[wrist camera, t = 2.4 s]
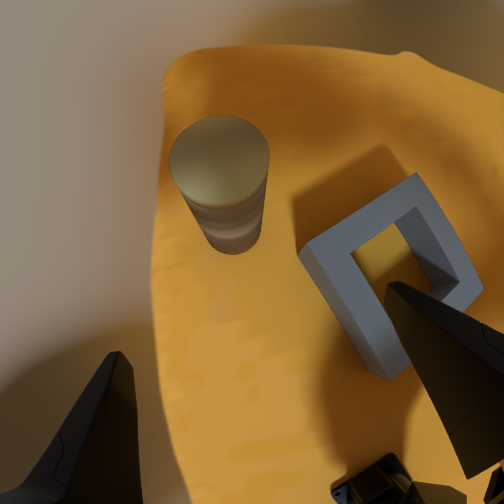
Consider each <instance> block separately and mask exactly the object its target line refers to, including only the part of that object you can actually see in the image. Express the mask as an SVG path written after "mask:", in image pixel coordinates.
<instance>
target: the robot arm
mask: <svg viewBox="0 0 504 504" xmlns="http://www.w3.org/2000/svg"><path fill="white" fill-rule="evenodd" d="M384 305H385V308H386V311H387V313H388V315H389V317H390V319H391V322H392V324H393V326H394V329H395V331H396V333H397V336H398V338H399V340H400V342H401V344H402V346H403V348H404V350H405V352H406V353H407V355H408V357H409V359H410V361H411V362H412V364H413V366H414V368H415V370H416V372H417V374H418V375H419V377H420V379H421V381H422V383H423V385H424V387H425V389H426V391H427V393H428V395H429V397H430V399H431V401H432V403H433V405H434V407H435V409H436V411H437V413H438V415H439V417H440V419H441V421H442V423H443V425H444V427H445V430H446V432H447V434H448V435H449V439H450V441H451V443H452V445H453V448H454V450H455V452H456V454H457V457H458V459H459V462H460V464H461V466H462V469H463V471H464V474H465V476H466V478H467V480H468V479H470V478H472V477H474V476H476V475H478V474H479V473H481V472H483V471H485V470H486V469H488V468H490V467H492V466H493V465H495V464H496V463H498V462H499V463H500V466H499V467H498V468H497V469H496V470H494V471H493V472H492V475H491V479H490V482H489V485H488V488H487V491H486V494H485V497H484V503H485V504H504V334H503V333H500V332H498V331H497V330H495V329H493V328H491V327H489V326H487V325H485V324H483V323H480V322H479V321H477V320H475V319H474V318H472V317H470V316H468V315H466V314H464V313H462V312H460V311H458V310H456V309H454V308H453V307H451V306H449V305H447V304H445V303H443V302H441V301H439V300H437V299H435V298H433V297H431V296H429V295H427V294H425V293H423V292H421V291H419V290H417V289H415V288H413V287H411V286H409V285H407V284H405V283H403V282H401V281H394V282H391V283H388V284H387V286H386V292H385V298H384ZM137 414H138V413H137V402H136V392H135V382H134V372H133V367H132V365H131V364H130V362H129V361H128V360H127V358H126V357H125V356H124V355H123V353H122V352H121V351H115V352H110V353H109V354H108V355H107V356H106V358H105V359H104V361H103V362H102V364H101V365H100V367H99V368H98V369H97V371H96V372H95V374H94V375H93V377H92V378H91V380H90V381H89V383H88V384H87V386H86V387H85V389H84V391H83V392H82V394H81V395H80V397H79V398H78V400H77V401H76V403H75V404H74V406H73V408H72V409H71V411H70V412H69V414H68V415H67V417H66V419H65V420H64V422H63V424H62V425H61V427H60V428H59V431H58V432H57V433H56V435H55V437H54V438H53V440H52V441H51V443H50V445H49V446H48V448H47V449H46V451H45V452H44V454H43V455H42V456H41V458H40V459H39V461H38V462H37V464H36V465H35V467H34V468H33V469H32V471H31V472H30V474H29V475H28V476H27V478H26V479H25V480H24V482H23V483H22V484H21V485H19V486H18V487H16V488H15V489H13V490H10V491H7V492H4V493H1V494H0V504H143V498H142V488H141V477H140V463H139V445H138V415H137ZM390 457H392V458H391V459H390V460H389V458H390ZM337 492H339V493H338V494H335V493H337ZM331 495H332V497H333V498H334V500H335V501H336V502H337V503H338V504H467V496H466V495H465V494H463V493H461V492H460V491H458V490H456V489H454V488H452V487H451V486H446V485H438V484H430V483H423V482H417V481H413V482H411V480H410V479H409V477H408V475H407V473H406V472H405V470H404V468H403V467H402V465H401V463H400V462H399V460H398V458H397V457H396V455H395V454H394V453H389V454H387V455H386V456H384V457H383V458H382V459H380V460H379V461H377V462H376V463H375V464H373V465H372V466H370V467H369V468H367V469H366V470H364V471H363V472H361V473H360V474H358V475H356V476H355V477H353V478H352V479H350V480H348V481H347V482H345V483H343V484H342V485H340V486H338V487H337V488H335V489H333V490H332V491H331Z"/></svg>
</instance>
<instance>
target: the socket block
mask: <svg viewBox="0 0 504 504" xmlns="http://www.w3.org/2000/svg"><path fill="white" fill-rule="evenodd" d="M392 223H395V224H396V226H397V227H398V229H399V230H400V232H401V234H402V235H403V237H404V238H405V240H406V241H407V243H408V245H409V246H410V248H411V250H412V251H413V253H414V255H415V256H416V258H417V260H418V261H419V263H420V265H421V267H422V268H423V270H424V272H425V274H426V275H427V277H428V279H429V281H430V283H431V284H432V286H433V288H432V289H431V290H430V291H429V292H428V293H427V295H429V296H431V297H433V298H435V299H437V300H439V301H441V302H443V303H445V304H447V305H449V306H451V307H453V308H454V309H456V310H458V311H460V312H462V313H463V312H464V311H465V310H466V309H467V308H468V307H469V306H470V305H471V303H472V302H473V301H474V300H475V299H476V298H477V297H478V295H479V294H480V293H481V292H482V291H483V289H484V287H483V285H482V283H481V280H480V278H479V276H478V274H477V272H476V270H475V268H474V266H473V264H472V262H471V260H470V258H469V256H468V254H467V252H466V251H465V249H464V247H463V245H462V243H461V241H460V240H459V238H458V236H457V234H456V232H455V231H454V229H453V227H452V226H451V224H450V222H449V221H448V219H447V217H446V216H445V214H444V212H443V211H442V209H441V208H440V206H439V204H438V203H437V201H436V200H435V198H434V197H433V195H432V194H431V192H430V191H429V189H428V188H427V186H426V185H425V183H424V182H423V181H422V179H421V178H420V176H419V175H418V174H417V172H415V173H414V174H412V175H411V176H409V177H408V178H406V179H405V180H403V181H402V182H400V183H399V184H397V185H396V186H394V187H393V188H391V189H390V190H388V191H387V192H385V193H384V194H382V195H380V196H379V197H377V198H376V199H374V200H373V201H371V202H370V203H368V204H367V205H365V206H364V207H362V208H360V209H359V210H357V211H356V212H354V213H353V214H351V215H350V216H348V217H346V218H345V219H343V220H342V221H340V222H339V223H337V224H336V225H334V226H332V227H331V228H329V229H328V230H326V231H325V232H323V233H321V234H320V235H318V236H317V237H315V238H313V239H312V240H310V241H309V242H307V243H306V244H305V245H304V247H303V248H302V249H301V251H300V252H299V253H298V254H297V256H298V258H299V259H300V261H301V262H302V264H303V265H304V267H305V268H306V270H307V272H308V273H309V275H310V276H311V278H312V279H313V281H314V282H315V284H316V286H317V287H318V289H319V290H320V292H321V294H322V295H323V297H324V298H325V300H326V301H327V303H328V305H329V306H330V308H331V309H332V311H333V313H334V314H335V316H336V318H337V319H338V321H339V322H340V324H341V326H342V327H343V329H344V331H345V332H346V334H347V335H348V337H349V339H350V340H351V342H352V344H353V345H354V347H355V349H356V350H357V352H358V354H359V355H360V357H361V359H362V360H363V362H364V364H365V365H366V367H367V369H368V370H369V372H372V373H374V374H376V375H378V376H381V377H383V378H385V379H387V380H390V381H391V380H392V379H394V378H395V377H396V376H397V375H398V374H400V373H401V372H402V371H403V370H404V369H405V368H407V367H408V366H409V365H410V364H411V363H412V362H411V361H410V359H409V357H408V355H407V353H406V352H405V350H404V348H403V346H402V344H401V342H400V340H399V338H398V336H397V333H396V331H395V329H394V326H393V324H392V322H391V320H390V319H389V317H388V315H387V313H386V312H385V310H384V308H383V306H382V305H381V303H380V301H379V300H378V298H377V296H376V295H375V293H374V291H373V290H372V288H371V286H370V285H369V283H368V281H367V280H366V278H365V277H364V275H363V273H362V272H361V270H360V269H359V267H358V265H357V264H356V262H355V261H354V259H353V258H352V256H351V254H350V253H351V252H353V251H354V250H356V249H357V248H359V247H360V246H361V245H363V244H364V243H366V242H367V241H368V240H370V239H371V238H373V237H374V236H376V235H377V234H378V233H380V232H381V231H383V230H384V229H385V228H387V227H388V226H389V225H391V224H392Z"/></svg>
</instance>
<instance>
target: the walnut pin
mask: <svg viewBox="0 0 504 504" xmlns="http://www.w3.org/2000/svg"><path fill="white" fill-rule="evenodd" d="M169 167H170V172H171V175H172V177H173V179H174V181H175V183H176V185H177V187H178V188H179V190H180V192H181V194H182V196H183V197H184V199H185V201H186V203H187V205H188V206H189V208H190V210H191V212H192V214H193V215H194V217H195V219H196V221H197V222H198V224H199V226H200V228H201V230H202V231H203V233H204V235H205V237H206V238H207V240H208V242H209V243H210V245H211V246H212V247H213V248H215V249H216V250H217V251H219V252H221V253H224V254H230V255H234V254H240V253H243V252H245V251H247V250H249V249H250V248H251V247H253V246H254V244H255V243H256V242H257V240H258V238H259V236H260V232H261V225H262V217H263V209H264V200H265V192H266V184H267V175H268V167H269V147H268V144H267V141H266V139H265V137H264V136H263V134H262V133H261V132H260V131H259V130H258V129H257V128H256V127H255V126H254V125H252V124H251V123H249V122H247V121H245V120H243V119H240V118H237V117H232V116H213V117H209V118H205V119H202V120H200V121H197V122H195V123H194V124H192V125H190V126H189V127H188V128H186V129H185V130H184V131H183V132H182V133H181V134H180V135H179V136H178V138H177V139H176V141H175V142H174V144H173V146H172V149H171V152H170V157H169Z"/></svg>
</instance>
